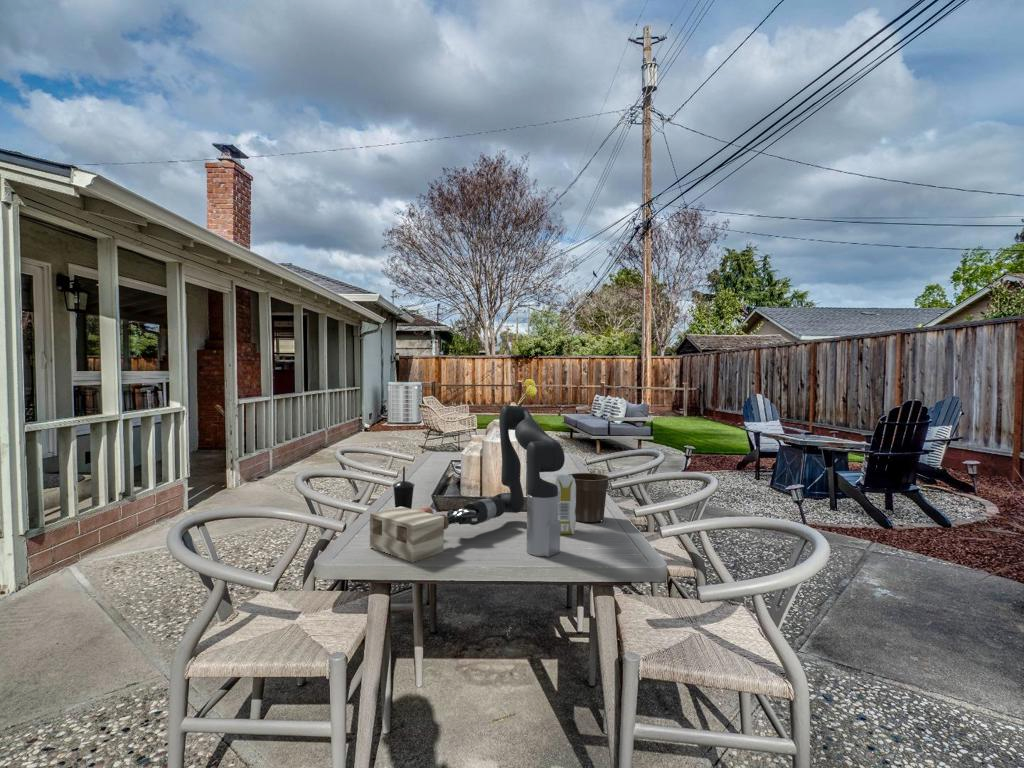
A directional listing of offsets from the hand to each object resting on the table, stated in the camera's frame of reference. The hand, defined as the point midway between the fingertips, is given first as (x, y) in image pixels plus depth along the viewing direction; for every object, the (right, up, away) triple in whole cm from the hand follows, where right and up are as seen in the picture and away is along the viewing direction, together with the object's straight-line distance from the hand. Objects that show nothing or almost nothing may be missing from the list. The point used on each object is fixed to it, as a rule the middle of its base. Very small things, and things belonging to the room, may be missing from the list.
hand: (443, 521), depth 160 cm
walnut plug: (-5, -2, -7) cm, 9 cm away
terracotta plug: (-11, -2, +3) cm, 12 cm away
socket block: (-10, -7, -6) cm, 14 cm away
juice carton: (+39, -8, +16) cm, 43 cm away
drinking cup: (-18, -7, +24) cm, 31 cm away
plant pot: (+50, -8, +33) cm, 60 cm away
